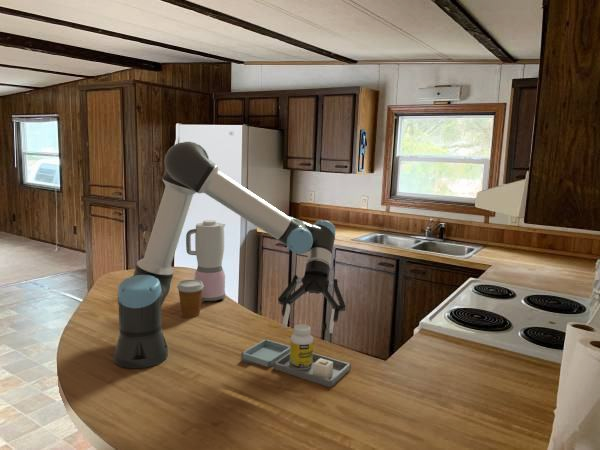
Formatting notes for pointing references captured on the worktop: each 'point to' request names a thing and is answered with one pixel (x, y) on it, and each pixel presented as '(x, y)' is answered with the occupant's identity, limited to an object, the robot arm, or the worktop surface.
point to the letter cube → (323, 368)
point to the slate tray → (265, 353)
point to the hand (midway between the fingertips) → (307, 328)
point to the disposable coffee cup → (190, 297)
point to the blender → (209, 258)
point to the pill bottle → (301, 347)
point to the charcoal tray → (338, 370)
